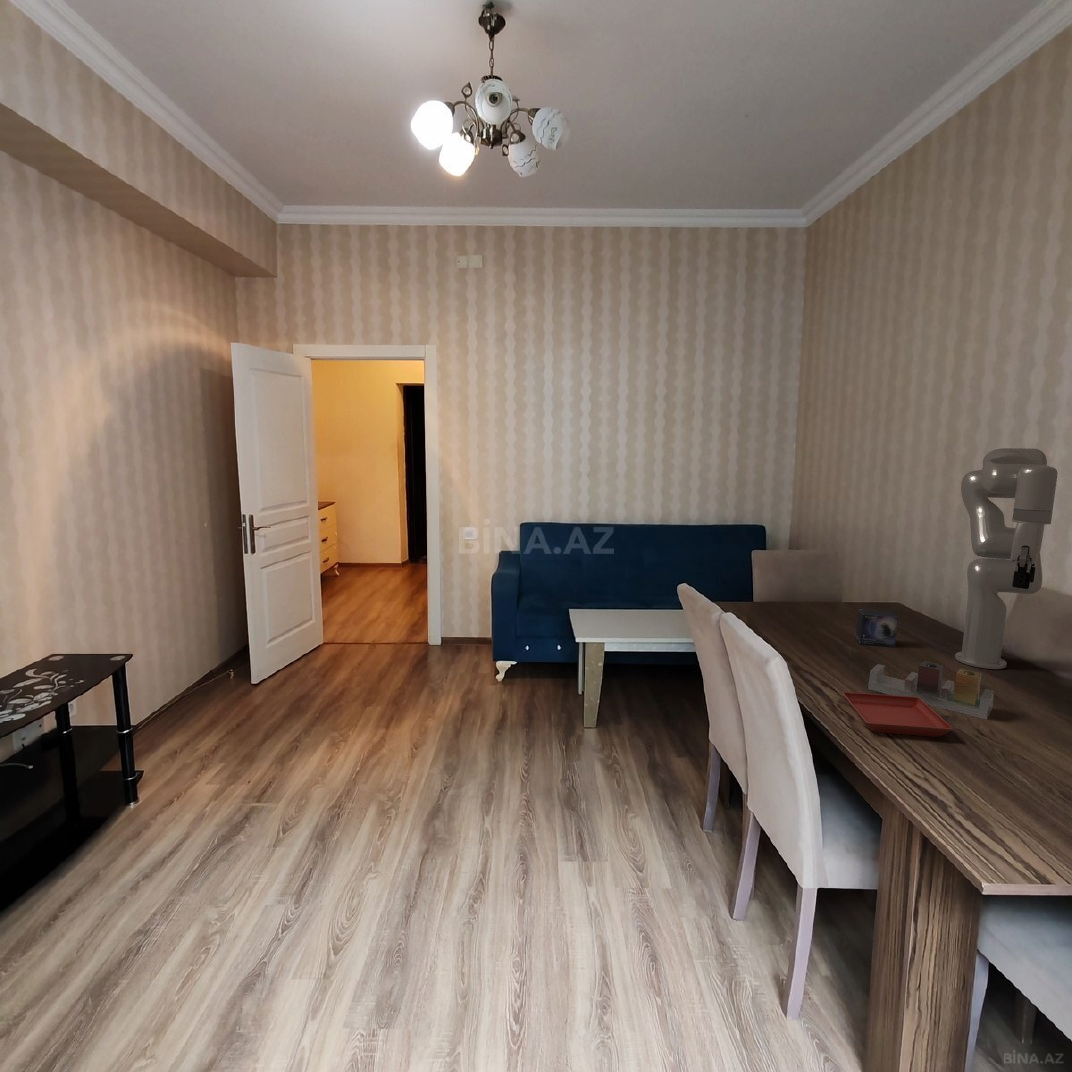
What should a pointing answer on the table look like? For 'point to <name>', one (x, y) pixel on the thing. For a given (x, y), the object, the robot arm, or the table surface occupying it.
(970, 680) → the yellow tall block
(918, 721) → the plant saucer
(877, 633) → the small box
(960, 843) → the table surface
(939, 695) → the rail
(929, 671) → the dark knobbed cube
